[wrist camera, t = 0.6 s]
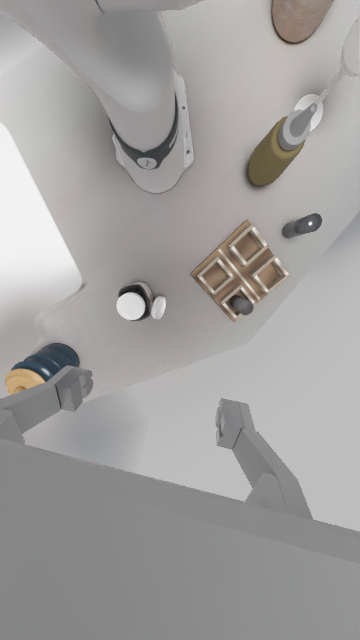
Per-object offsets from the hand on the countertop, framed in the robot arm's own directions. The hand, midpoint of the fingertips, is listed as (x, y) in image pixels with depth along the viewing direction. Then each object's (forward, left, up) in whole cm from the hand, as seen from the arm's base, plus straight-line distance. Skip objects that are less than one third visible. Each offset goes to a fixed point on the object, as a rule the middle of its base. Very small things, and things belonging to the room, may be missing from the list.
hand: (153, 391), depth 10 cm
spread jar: (+3, -9, -44) cm, 44 cm away
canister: (+25, -40, -44) cm, 64 cm away
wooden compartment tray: (-5, +18, -43) cm, 47 cm away
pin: (-17, +30, -43) cm, 55 cm away
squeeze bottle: (-30, +20, -43) cm, 56 cm away
